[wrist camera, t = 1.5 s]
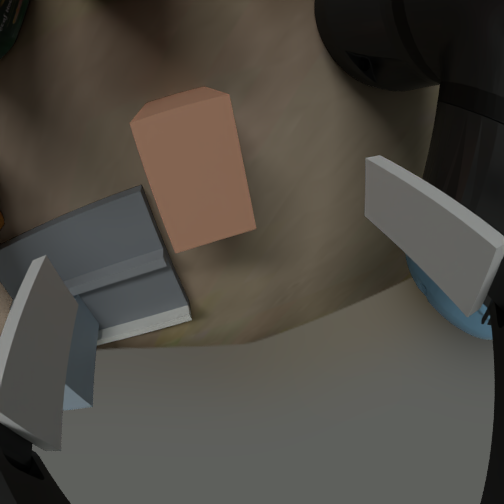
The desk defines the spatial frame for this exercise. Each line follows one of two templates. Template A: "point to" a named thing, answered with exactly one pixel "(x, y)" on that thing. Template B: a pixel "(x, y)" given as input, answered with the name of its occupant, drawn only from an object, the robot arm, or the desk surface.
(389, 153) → the desk surface
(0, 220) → the coffee package
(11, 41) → the coffee jar
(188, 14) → the desk surface
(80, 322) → the blue-grey tea box
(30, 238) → the shelf
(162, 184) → the rust tea box
